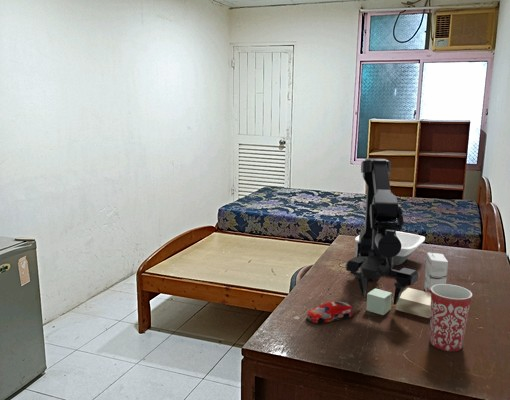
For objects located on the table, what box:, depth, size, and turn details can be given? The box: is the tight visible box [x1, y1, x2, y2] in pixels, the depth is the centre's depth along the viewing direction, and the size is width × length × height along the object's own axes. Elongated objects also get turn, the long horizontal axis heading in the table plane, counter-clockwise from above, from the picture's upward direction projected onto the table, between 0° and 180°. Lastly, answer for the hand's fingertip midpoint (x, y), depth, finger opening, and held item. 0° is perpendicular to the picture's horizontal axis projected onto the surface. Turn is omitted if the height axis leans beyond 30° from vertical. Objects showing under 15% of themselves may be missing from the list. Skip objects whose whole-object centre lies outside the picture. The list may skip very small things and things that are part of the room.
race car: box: [306, 300, 354, 325], centre depth 123 cm, size 13×5×4 cm, turn 112°
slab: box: [395, 287, 431, 319], centre depth 129 cm, size 9×9×4 cm
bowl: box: [354, 230, 426, 266], centre depth 171 cm, size 22×23×8 cm
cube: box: [365, 288, 393, 316], centre depth 128 cm, size 5×5×5 cm
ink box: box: [423, 252, 449, 293], centre depth 139 cm, size 9×5×12 cm, turn 168°
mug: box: [429, 283, 473, 352], centre depth 110 cm, size 13×9×14 cm
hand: (379, 299), depth 128 cm, fingers open, 9 cm apart
